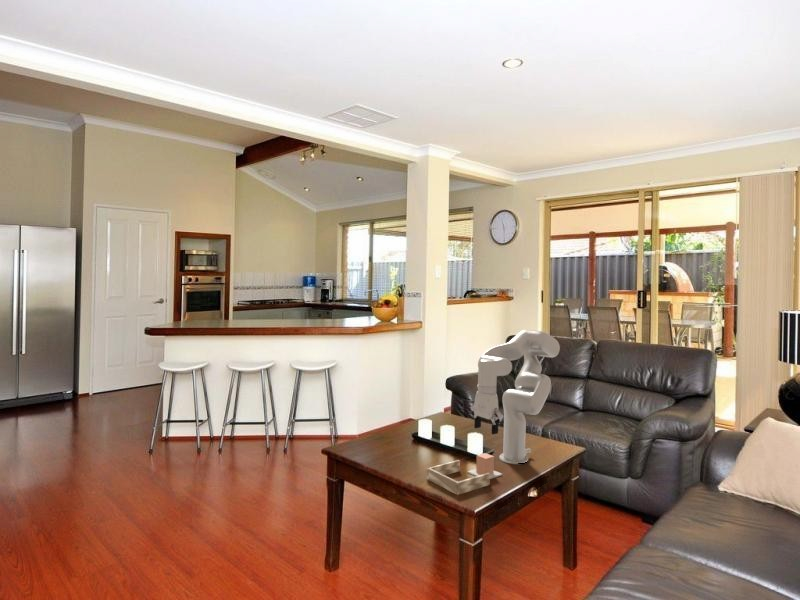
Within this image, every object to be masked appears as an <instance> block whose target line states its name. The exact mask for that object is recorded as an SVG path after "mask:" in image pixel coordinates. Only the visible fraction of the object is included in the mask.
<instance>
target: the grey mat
mask: <svg viewBox="0 0 800 600" xmlns="http://www.w3.org/2000/svg"><path fill="white" fill-rule="evenodd" d="M467 474H469V475H471V476H473V477H475V476H479V475H482V474H480V473H478V472H476V468H474V469H471V470H467ZM502 476H503V473H501V472H499V471H496V470H494V473H493V474H490V480H491V479H495V478H498V477H502Z"/></svg>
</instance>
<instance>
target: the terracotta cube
mask: <svg viewBox="0 0 800 600" xmlns="http://www.w3.org/2000/svg"><path fill="white" fill-rule="evenodd" d="M475 464H476V466H475V467H476V468H475V469H476V472H478V473H480V474H486V473H490V474H493V473H494V471H495V470H494V468H495V467H494V466H495V456H494V455H491V454H489V453H487V452H484V453H479V454H477V455H476V463H475Z"/></svg>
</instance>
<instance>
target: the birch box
mask: <svg viewBox="0 0 800 600" xmlns="http://www.w3.org/2000/svg"><path fill="white" fill-rule="evenodd" d="M460 471H461V459H460V460H459V459H456V460H453V461H449V462H445V463H441V464H438V465H434V466H431V467H427V468H426V480H427V481H429V482H431V483H434V484H435V485H437V486H439V487H441V488H443V489H445V490H447V491H448V492H451V493H453V494H455V495H457V496H459V495H462V494H465V493H469V492H471V491H475V490H478V489H481V488H483V487H488V486H489V485H490V484H491V479H490V473H486V474H482V475H479V476H473V477H469V478H465V479H461V480H459V481H458V480H456V479H453V478H451V477H449V476H447V475H451V474H454V473H458V472H460Z"/></svg>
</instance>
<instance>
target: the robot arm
mask: <svg viewBox="0 0 800 600" xmlns="http://www.w3.org/2000/svg"><path fill="white" fill-rule="evenodd" d="M560 348H561V346H560V343H559V341H558V340H557V339H556V338H555V337H553V336H552V335H550V334H548V333H547V332H545V331H541V330H531V329H523V330H521V331H518V332H517V334H516V335H515V336H513V337H512V338H511V339H510V340H509V341H508V342H506V343H503V344H500V345H497V346H496V345H495V346H493V347H491V348H489V349H487V350H486V351H485V352H484V353H483V354H481V356H480V358H479V359H478V361H477V367H478V369H477V371H478V374H477V386H476V388H477V391H476V393H475V397H474V404H473V405H471V406H470V409H471V413H472V415H473V419H474V424H473V425H474V427H473V428H474V429H479V428H481V427H482V419H483V418H484V419H486V420H490V421H491V423H492V424H491V435H496V434H498V433H499V425H500V424H501V422H502V421H503V441H502V442H503V444H502V450H503V451H502V453H501V454H500V455H499V456H498V457H499V460H500V461H501V462H503V463H506V464H510V465H519V464H518V463H525V462H527V461H528V462H529V457H528V456H527V454H530V453H532V449H531V448H530V447H528V448H526V431H527V430H526V429H527V427H526V426H527V423H526V422H527V420H526V417H525V414H526V415H534V416H536V415H538V414H539V413H540V412H541V410H542V409H543V407H544V406H545V403H546V400H547V398H548V396H549V395H550V392H551V389H552V380H551V378H550V377H549V376H548V375H546V374H544V373H542V371H543V369H542V368H543V367H542V363H541V362H540V360H539V358H538V357H544V358H545V357H546V358H555V357H557V356H558V355H559V353H560V350H561V349H560ZM522 357H523V359H524V360H523V365H522V367H521V369H520V370H519V373H518V374H517V376H516V378H515V381H514V387H515V388H509V389H507V390H505V391H504V392H503V395H502V400H501V401H502V406H503V413H502V412H501V411H500V410H499V409H500V407H499V397H498V393H497V385H498V384H497V383H498V382H497V380H498V377H505V376H508V375H509V374H510V373H511V372H512V369H513V363H512V362H511V361H515V360H519V359H521V358H522ZM528 462H527V463H528ZM525 464H526V463H525Z"/></svg>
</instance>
